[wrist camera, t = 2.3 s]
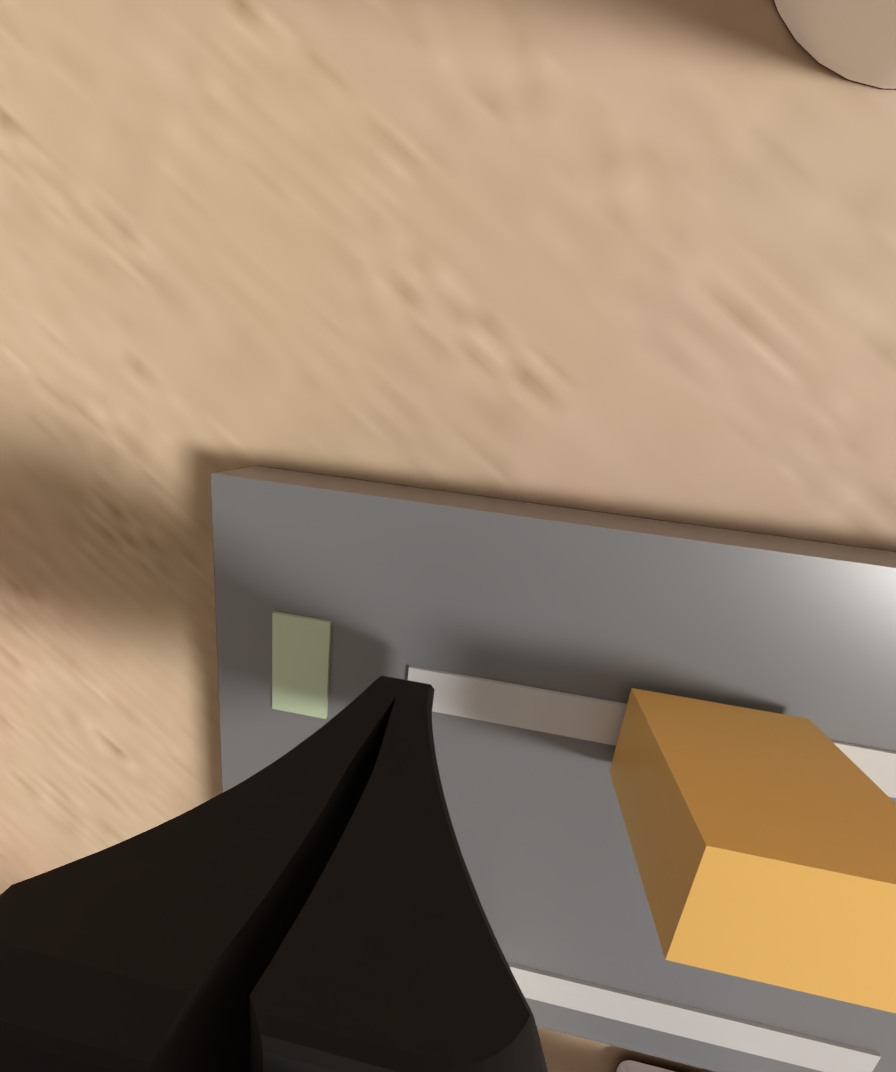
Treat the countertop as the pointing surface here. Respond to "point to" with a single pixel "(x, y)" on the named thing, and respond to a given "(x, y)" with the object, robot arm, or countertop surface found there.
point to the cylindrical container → (847, 36)
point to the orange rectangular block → (760, 847)
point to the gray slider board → (559, 713)
